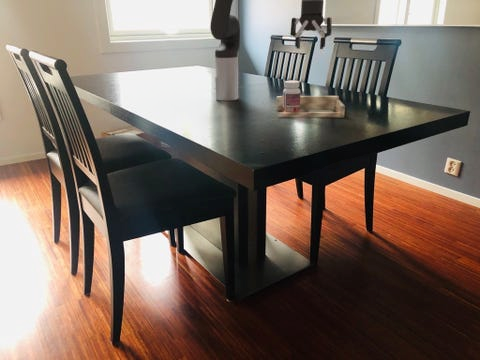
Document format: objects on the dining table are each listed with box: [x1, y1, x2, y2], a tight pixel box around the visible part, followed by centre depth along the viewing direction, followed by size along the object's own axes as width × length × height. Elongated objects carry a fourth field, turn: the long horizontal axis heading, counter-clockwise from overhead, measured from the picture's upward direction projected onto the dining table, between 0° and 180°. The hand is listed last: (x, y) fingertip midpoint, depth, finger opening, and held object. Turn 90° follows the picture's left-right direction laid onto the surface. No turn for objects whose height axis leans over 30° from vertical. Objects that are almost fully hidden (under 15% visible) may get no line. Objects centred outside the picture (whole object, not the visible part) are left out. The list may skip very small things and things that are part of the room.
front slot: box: [307, 110, 334, 112], centre depth 140 cm, size 9×9×1 cm
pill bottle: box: [282, 80, 301, 112], centre depth 139 cm, size 6×6×11 cm
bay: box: [275, 95, 346, 118], centre depth 139 cm, size 23×13×5 cm, turn 88°
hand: (309, 48), depth 141 cm, fingers open, 8 cm apart
